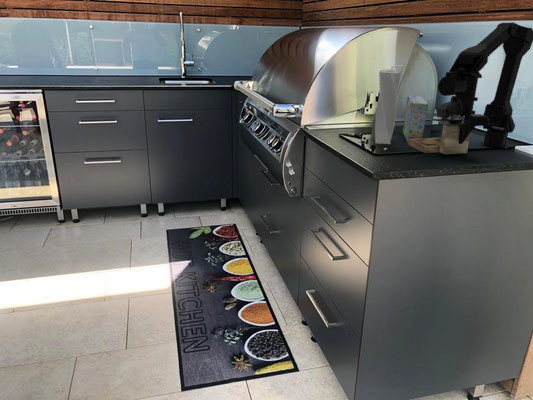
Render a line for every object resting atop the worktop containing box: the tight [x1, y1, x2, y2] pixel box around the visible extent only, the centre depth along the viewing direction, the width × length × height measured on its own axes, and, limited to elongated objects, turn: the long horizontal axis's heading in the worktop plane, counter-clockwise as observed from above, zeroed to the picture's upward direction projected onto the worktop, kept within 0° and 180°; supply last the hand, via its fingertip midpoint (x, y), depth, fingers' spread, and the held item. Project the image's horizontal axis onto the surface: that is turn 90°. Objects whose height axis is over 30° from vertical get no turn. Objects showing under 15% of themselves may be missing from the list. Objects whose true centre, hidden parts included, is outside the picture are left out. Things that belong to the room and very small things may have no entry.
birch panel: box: [439, 124, 471, 155], centre depth 140 cm, size 3×8×9 cm, turn 102°
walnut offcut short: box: [418, 140, 434, 146], centre depth 148 cm, size 3×5×1 cm, turn 18°
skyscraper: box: [370, 64, 405, 145], centre depth 153 cm, size 8×8×28 cm
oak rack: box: [407, 137, 442, 154], centre depth 150 cm, size 13×11×3 cm
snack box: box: [402, 95, 429, 143], centre depth 163 cm, size 21×6×15 cm, turn 168°
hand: (457, 142), depth 141 cm, fingers closed on birch panel, 3 cm apart
